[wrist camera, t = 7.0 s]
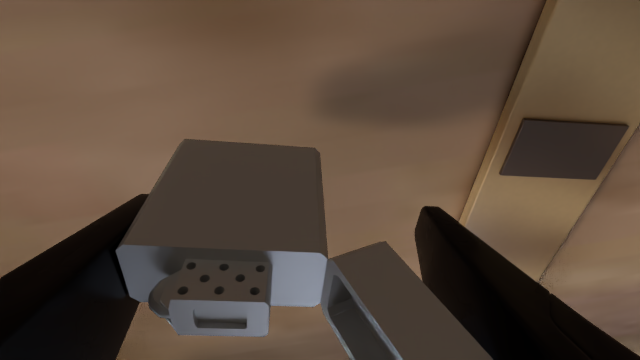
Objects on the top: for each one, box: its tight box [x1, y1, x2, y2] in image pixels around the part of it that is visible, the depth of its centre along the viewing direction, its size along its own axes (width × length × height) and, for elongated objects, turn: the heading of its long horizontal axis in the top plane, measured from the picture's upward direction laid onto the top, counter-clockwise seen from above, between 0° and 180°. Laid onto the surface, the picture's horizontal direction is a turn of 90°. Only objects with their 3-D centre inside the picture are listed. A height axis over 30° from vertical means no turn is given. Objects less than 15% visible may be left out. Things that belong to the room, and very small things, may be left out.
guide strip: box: [459, 0, 640, 282], centre depth 14 cm, size 22×5×1 cm, turn 176°
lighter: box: [116, 139, 493, 360], centre depth 8 cm, size 7×2×8 cm, turn 84°
